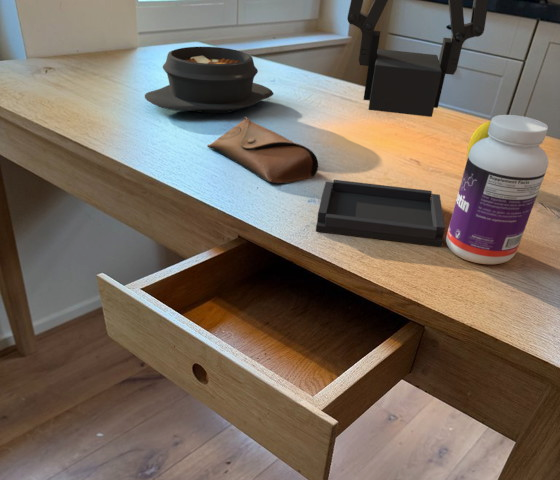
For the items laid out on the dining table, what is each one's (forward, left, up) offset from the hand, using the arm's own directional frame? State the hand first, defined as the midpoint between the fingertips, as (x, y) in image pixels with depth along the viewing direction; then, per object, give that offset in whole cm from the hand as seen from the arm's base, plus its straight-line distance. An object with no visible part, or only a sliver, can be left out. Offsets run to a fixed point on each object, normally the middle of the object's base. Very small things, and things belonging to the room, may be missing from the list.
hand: (400, 100), depth 65 cm
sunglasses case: (+18, -12, -13) cm, 26 cm away
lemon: (-15, -17, -13) cm, 26 cm away
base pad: (0, +3, -13) cm, 13 cm away
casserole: (+32, -38, -13) cm, 51 cm away
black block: (0, 0, 0) cm, 0 cm away
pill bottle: (-12, +9, -13) cm, 20 cm away
